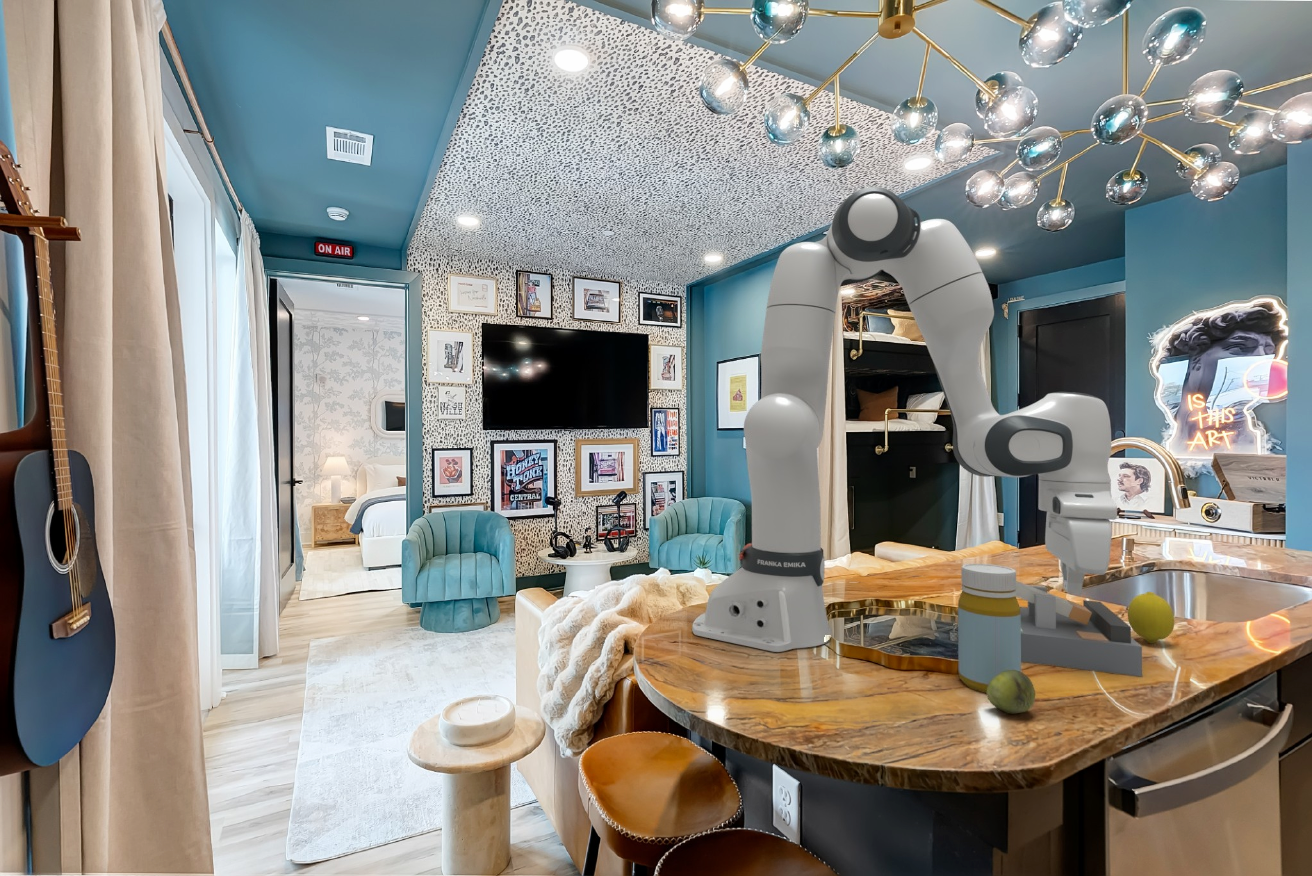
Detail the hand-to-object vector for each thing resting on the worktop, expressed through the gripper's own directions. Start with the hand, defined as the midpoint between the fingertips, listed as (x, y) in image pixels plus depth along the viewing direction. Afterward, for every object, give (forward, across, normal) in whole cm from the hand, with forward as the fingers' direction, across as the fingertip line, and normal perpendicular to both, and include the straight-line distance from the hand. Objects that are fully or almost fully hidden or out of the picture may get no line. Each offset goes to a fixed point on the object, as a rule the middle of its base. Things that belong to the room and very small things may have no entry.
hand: (1072, 592), depth 88 cm
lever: (+1, 0, -4) cm, 4 cm away
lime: (+9, +27, -11) cm, 31 cm away
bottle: (+9, +19, -13) cm, 25 cm away
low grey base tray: (+9, 0, -4) cm, 10 cm away
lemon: (+9, -9, +12) cm, 17 cm away
